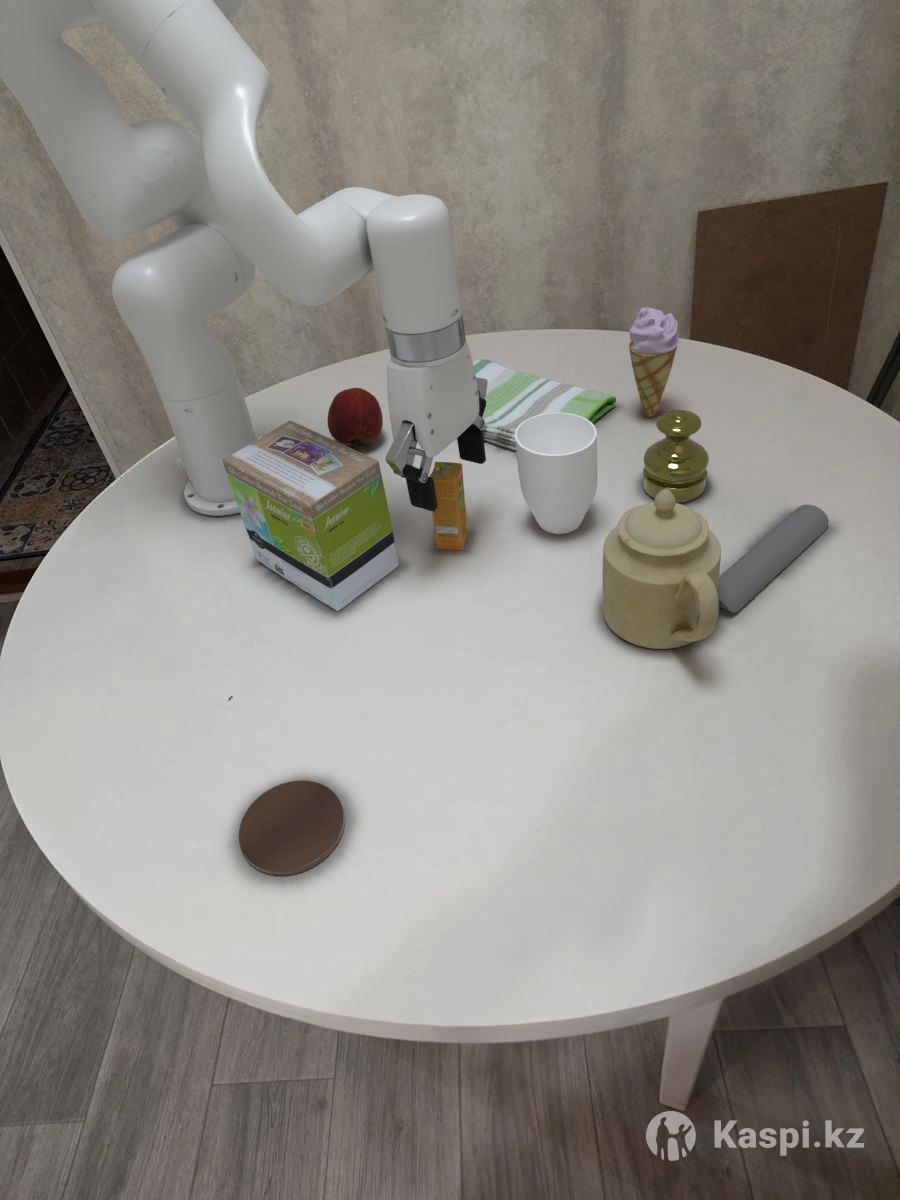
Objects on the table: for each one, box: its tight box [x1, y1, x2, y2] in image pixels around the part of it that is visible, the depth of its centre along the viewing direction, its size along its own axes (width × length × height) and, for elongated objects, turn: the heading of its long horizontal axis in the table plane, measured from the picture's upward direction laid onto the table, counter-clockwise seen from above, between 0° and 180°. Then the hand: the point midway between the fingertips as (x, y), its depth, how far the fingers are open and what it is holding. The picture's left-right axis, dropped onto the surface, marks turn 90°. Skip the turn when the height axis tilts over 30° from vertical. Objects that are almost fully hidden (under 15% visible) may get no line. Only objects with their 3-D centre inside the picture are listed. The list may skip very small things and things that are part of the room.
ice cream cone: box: [628, 307, 679, 418], centre depth 112 cm, size 7×6×15 cm
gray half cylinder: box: [717, 504, 829, 614], centre depth 91 cm, size 4×20×2 cm, turn 134°
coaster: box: [238, 779, 346, 876], centre depth 73 cm, size 9×9×1 cm
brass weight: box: [642, 409, 710, 504], centre depth 100 cm, size 7×7×10 cm
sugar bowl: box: [602, 489, 722, 650], centre depth 82 cm, size 15×11×15 cm
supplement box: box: [429, 461, 468, 551], centre depth 97 cm, size 3×3×10 cm
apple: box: [326, 387, 384, 449], centre depth 117 cm, size 7×8×8 cm
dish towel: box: [473, 358, 617, 451], centre depth 119 cm, size 17×23×4 cm
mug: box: [515, 412, 598, 535], centre depth 98 cm, size 12×9×12 cm
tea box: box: [222, 419, 400, 612], centre depth 95 cm, size 15×10×15 cm, turn 47°
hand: (449, 483), depth 95 cm, fingers open, 9 cm apart
